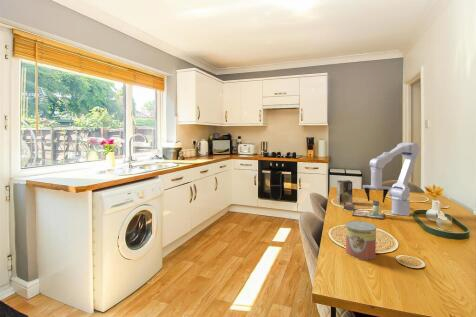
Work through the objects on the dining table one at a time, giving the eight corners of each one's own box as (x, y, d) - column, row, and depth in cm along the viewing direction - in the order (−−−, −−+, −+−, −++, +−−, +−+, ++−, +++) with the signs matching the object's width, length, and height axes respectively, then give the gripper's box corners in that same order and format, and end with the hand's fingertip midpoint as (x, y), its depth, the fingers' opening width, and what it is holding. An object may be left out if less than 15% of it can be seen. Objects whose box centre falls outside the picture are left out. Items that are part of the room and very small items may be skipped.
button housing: (354, 208, 175) (354, 204, 175) (353, 210, 170) (353, 206, 170) (344, 207, 178) (344, 203, 178) (343, 209, 173) (343, 205, 173)
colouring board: (383, 214, 162) (383, 212, 161) (383, 219, 151) (383, 217, 151) (354, 210, 170) (354, 209, 170) (352, 215, 159) (352, 214, 159)
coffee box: (349, 202, 192) (349, 180, 191) (352, 204, 186) (352, 181, 185) (336, 201, 193) (336, 180, 192) (339, 204, 187) (339, 181, 186)
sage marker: (378, 214, 158) (379, 201, 157) (378, 215, 155) (379, 202, 154) (372, 213, 160) (373, 200, 159) (372, 215, 157) (372, 201, 156)
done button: (352, 206, 175) (352, 203, 175) (351, 207, 172) (351, 204, 172) (346, 205, 176) (346, 202, 176) (346, 206, 174) (346, 203, 173)
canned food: (342, 255, 108) (342, 226, 107) (349, 245, 117) (350, 219, 116) (372, 262, 101) (373, 232, 100) (378, 252, 110) (378, 224, 109)
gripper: (362, 179, 156) (361, 201, 157) (390, 180, 149) (390, 204, 150) (363, 177, 162) (363, 199, 163) (390, 178, 155) (390, 201, 156)
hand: (376, 201), depth 157 cm, fingers open, 7 cm apart
